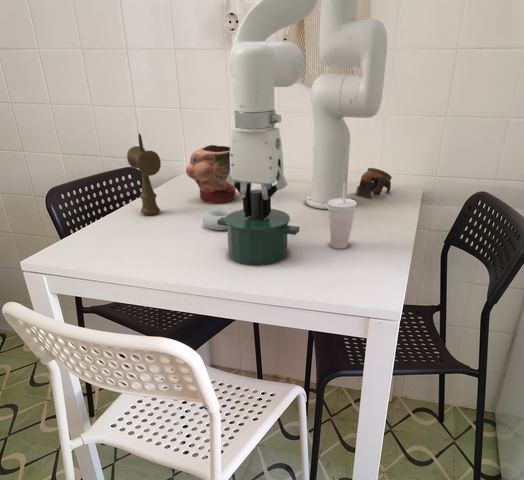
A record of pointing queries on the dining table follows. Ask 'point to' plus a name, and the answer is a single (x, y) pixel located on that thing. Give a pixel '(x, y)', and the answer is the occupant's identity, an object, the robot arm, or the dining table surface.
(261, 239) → the pot
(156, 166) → the kendama
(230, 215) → the lid
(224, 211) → the donut
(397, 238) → the dining table surface
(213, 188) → the sculpted ceramic jug
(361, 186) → the brown piece
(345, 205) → the smoothie
